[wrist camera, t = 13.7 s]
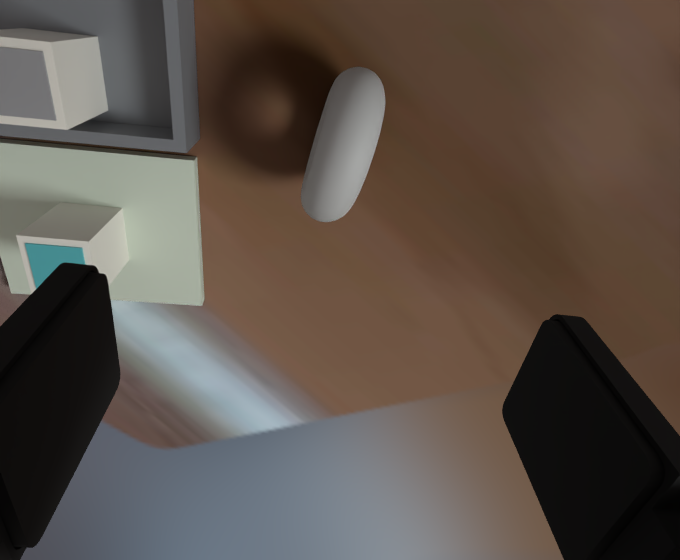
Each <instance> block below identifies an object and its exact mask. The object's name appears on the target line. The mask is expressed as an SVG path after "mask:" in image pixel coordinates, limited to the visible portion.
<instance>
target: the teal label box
mask: <svg viewBox="0 0 680 560" xmlns="http://www.w3.org/2000/svg"><path fill="white" fill-rule="evenodd" d="M16 237H17V241H18V245H19V249H20V252H21V256H22V260H23V264H24V268H25V271H26V275H27V279H28V283H29V287H30V290H31V294H32V293H33V292H34V291H35V290H36V289H37V288H38V287H39V286H40V285H41V284H42V282H43V281H44V280H45V279H46V278H47V277H48V276H49V275H50V274H51V273H52V272H53V271H54V270H55V269H56V268H57V267H58V266H59V265H60V264H61V263H65V262H67V263H76V264H86V265H94V266H96V267H97V269H98V271H99V273H103V274H105V275H106V276H107V279H108V285H109V286H110V284H111V283H112V282H113V280H114V279H115V278H116V276H117V275H118V274H119V273H120V271H121V270H122V269H123V267H124V266H125V265H126V263H127V262H128V261H129V255H128V247H127V239H126V232H125V224H124V216H123V209H122V208H117V207H107V206H96V205H85V204H74V203H64V202H60V203H59V204H58V205H56V206H55V207H53V208H52V209H51V210H49V211H48V212H47V213H45V214H44V215H43V216H41V217H40V218H39V219H37V220H36V221H35V222H33V223H32V224H31V225H29V226H28V227H26V228H25V229H24V230H22V231H21V232H20V233H18V234H17V235H16Z"/></svg>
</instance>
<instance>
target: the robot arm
mask: <svg viewBox="0 0 680 560" xmlns="http://www.w3.org/2000/svg"><path fill="white" fill-rule="evenodd" d="M119 381H120V366H119V359H118V351H117V344H116V337H115V329H114V322H113V315H112V307H111V300H110V293H109V285H108V279H107V276H106V275H105V274H103V273H99V271H98V269H97V267H96V266H94V265H86V264H76V263H67V262H65V263H61V264H60V265H59V266H58V267H57V268H56V269H55V270H54V271H53V272H52V273H51V274H50V275H49V276H48V277H47V278H46V279H45V280H44V281H43V282H42V284H41V285H40V286H39V287H38V288H37V289H36V290H35V291H34V292H33V293H32V294H31V295H30V296H29V297H28V298H27V299H26V300H25V301H24V302H23V303H22V304H21V306H20V307H19V308H18V309H17V310H16V311H15V312H14V313H13V314H12V315H11V316H10V317H9V318H8V319H7V320H6V321H5V322H4V323H3V324H2V325H1V326H0V560H20V559H21V557H22V555H23V553H24V551H25V549H26V547H29V548H33V547H34V546H35V545H37V543H38V542H39V541H40V539H41V537H42V536H43V534H44V532H45V530H46V527H47V526H48V524H49V522H50V520H51V518H52V516H53V514H54V512H55V510H56V508H57V506H58V504H59V502H60V500H61V498H62V496H63V494H64V492H65V490H66V488H67V487H68V485H69V483H70V480H71V479H72V477H73V475H74V472H75V471H76V469H77V467H78V465H79V463H80V461H81V459H82V457H83V455H84V453H85V451H86V449H87V447H88V445H89V443H90V441H91V439H92V437H93V435H94V434H95V432H96V430H97V428H98V426H99V424H100V422H101V420H102V418H103V416H104V414H105V412H106V410H107V408H108V406H109V404H110V402H111V400H112V398H113V396H114V394H115V392H116V390H117V388H118V385H119ZM502 413H503V418H504V421H505V424H506V426H507V428H508V431H509V433H510V435H511V438H512V440H513V442H514V445H515V447H516V449H517V451H518V454H519V456H520V458H521V460H522V463H523V465H524V468H525V470H526V472H527V474H528V477H529V479H530V482H531V484H532V486H533V489H534V491H535V493H536V496H537V498H538V500H539V502H540V505H541V507H542V510H543V512H544V514H545V516H546V519H547V521H548V524H549V526H550V528H551V531H552V533H553V535H554V537H555V540H556V542H557V544H558V547H559V549H560V551H561V554H562V556H563V558H564V560H680V436H679V435H678V433H677V432H676V431H675V430H674V428H673V427H672V426H671V425H670V423H669V422H668V421H667V420H666V419H665V417H664V416H663V415H662V414H661V412H660V411H659V410H658V409H657V407H656V406H655V405H654V404H653V402H652V401H651V400H650V399H649V398H648V396H647V395H646V394H645V393H644V391H643V390H642V389H641V388H640V386H639V385H638V384H637V383H636V382H635V380H634V379H633V378H632V377H631V375H630V374H629V373H628V372H627V370H626V369H625V368H624V367H623V366H622V364H621V363H620V362H619V361H618V359H617V358H616V357H615V356H614V354H613V353H612V352H611V351H610V349H609V348H608V347H607V346H606V344H605V343H604V342H603V341H602V340H601V338H600V337H599V336H598V335H597V333H596V332H595V331H594V330H593V328H592V327H591V326H590V325H589V323H588V322H587V321H586V320H585V319H584V318H582V317H577V316H567V315H558V314H557V315H553V316H552V317H551V318H550V319H549V320H545V321H544V322H543V323H542V325H541V327H540V329H539V331H538V333H537V335H536V337H535V339H534V341H533V343H532V345H531V347H530V349H529V352H528V354H527V356H526V358H525V360H524V362H523V364H522V366H521V368H520V370H519V372H518V374H517V376H516V379H515V381H514V383H513V385H512V387H511V389H510V391H509V393H508V396H507V397H506V399H505V401H504V404H503V409H502Z"/></svg>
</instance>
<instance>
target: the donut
mask: <svg viewBox="0 0 680 560" xmlns="http://www.w3.org/2000/svg"><path fill="white" fill-rule="evenodd" d="M384 110H385V93H384V87H383V85H382V82H381V80H380V78H379V77H378V76H377V75H376V74H375V73H374V72H373V71H371V70H369V69H367V68H363V67H354V68H349V69H347V70H346V71H344V72H342V73H341V74H340V75H339V76H338V77H337V78H336V79H335V80H334V83H333V85H332V87H331V89H330V92H329V94H328V97H327V100H326V103H325V106H324V109H323V112H322V115H321V119H320V122H319V125H318V128H317V132H316V135H315V138H314V142H313V145H312V149H311V152H310V156H309V160H308V163H307V167H306V171H305V175H304V179H303V184H302V190H301V201H302V206H303V208H304V210H305V211H306V213H307V214H308V215H309V216H310V217H311V218H313V219H315V220H317V221H321V222H330V221H335V220H337V219H339V218H341V217H343V216H344V215H345V214H346V213H347V212H348V211H349V210H350V208H351V207H352V205H353V204H354V202H355V200H356V198H357V196H358V194H359V192H360V190H361V188H362V185H363V183H364V180H365V178H366V175H367V173H368V170H369V167H370V164H371V161H372V158H373V155H374V152H375V148H376V145H377V141H378V138H379V134H380V130H381V126H382V121H383V117H384Z"/></svg>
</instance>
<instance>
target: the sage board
mask: <svg viewBox="0 0 680 560" xmlns="http://www.w3.org/2000/svg"><path fill="white" fill-rule="evenodd" d="M60 202H64V203H74V204H85V205H96V206H107V207H117V208H122V209H123V216H124V224H125V232H126V239H127V247H128V255H129V261H128V262H127V263H126V265H125V266H124V267H123V269H122V270H121V271H120V273H119V274H118V275H117V276H116V278H115V279H114V280H113V282H112V283H111V284H110V286H109V293H110V300H122V301H137V302H152V303H167V304H182V305H197V306H202V304H203V302H204V282H203V263H202V244H201V225H200V206H199V186H198V167H197V157H193V156H182V155H171V154H161V153H150V152H139V151H129V150H118V149H107V148H96V147H86V146H75V145H64V144H54V143H43V142H32V141H21V140H11V139H0V257H1V260H2V264H3V267H4V270H5V273H6V277H7V280H8V283H9V287H10V290H11V293H17V294H31V290H30V287H29V283H28V279H27V275H26V271H25V268H24V264H23V260H22V256H21V252H20V249H19V245H18V241H17V237H16V235H17V234H18V233H20V232H21V231H22V230H24V229H25V228H26V227H28V226H29V225H31V224H32V223H33V222H35V221H36V220H37V219H39V218H40V217H41V216H43V215H44V214H45V213H47V212H48V211H49V210H51V209H52V208H53V207H55V206H56V205H58V204H59V203H60Z"/></svg>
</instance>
